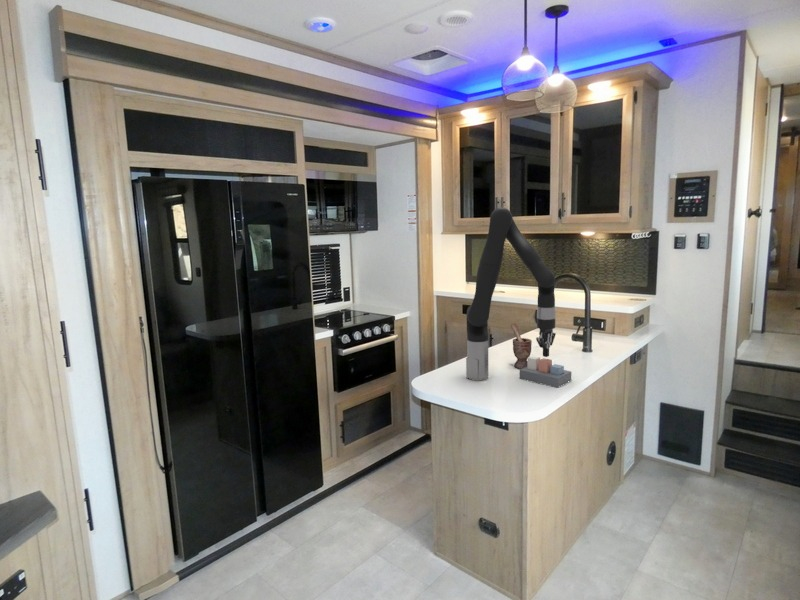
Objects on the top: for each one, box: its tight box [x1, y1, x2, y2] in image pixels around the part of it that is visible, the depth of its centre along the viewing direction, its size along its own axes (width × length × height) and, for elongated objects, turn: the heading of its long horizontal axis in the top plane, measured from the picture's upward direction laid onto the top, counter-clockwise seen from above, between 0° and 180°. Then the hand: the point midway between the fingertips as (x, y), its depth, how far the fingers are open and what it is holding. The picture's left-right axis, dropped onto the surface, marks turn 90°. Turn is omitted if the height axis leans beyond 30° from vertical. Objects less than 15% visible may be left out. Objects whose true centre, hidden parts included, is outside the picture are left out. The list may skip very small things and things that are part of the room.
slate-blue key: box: [550, 363, 565, 376], centre depth 203 cm, size 4×4×5 cm
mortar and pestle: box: [510, 322, 533, 369], centre depth 226 cm, size 12×9×20 cm
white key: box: [527, 355, 541, 370], centre depth 210 cm, size 4×4×5 cm
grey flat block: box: [519, 367, 572, 388], centre depth 207 cm, size 12×18×4 cm, turn 45°
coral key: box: [539, 357, 553, 373], centre depth 207 cm, size 4×4×5 cm
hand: (545, 356), depth 206 cm, fingers closed
